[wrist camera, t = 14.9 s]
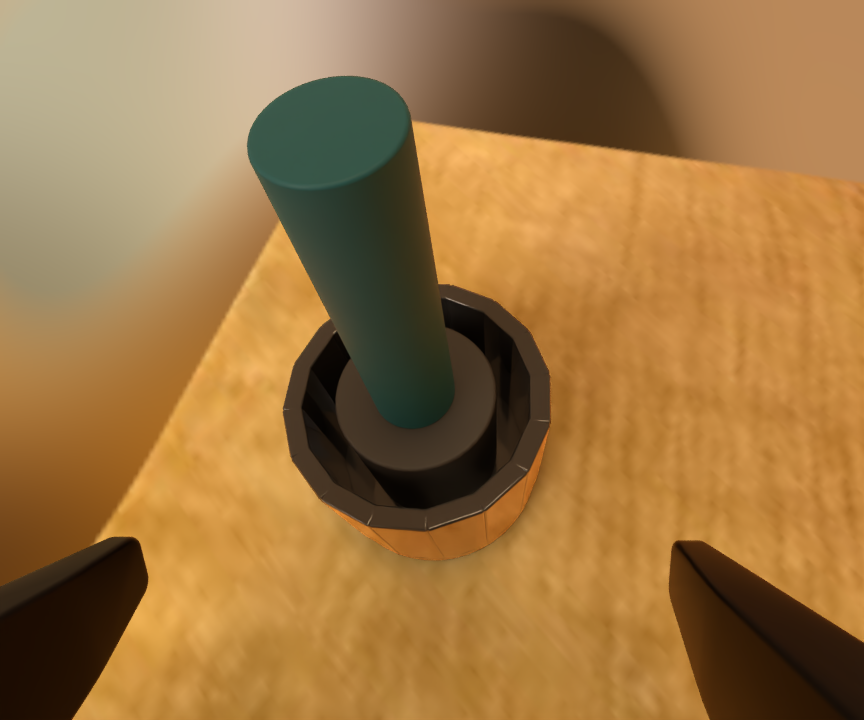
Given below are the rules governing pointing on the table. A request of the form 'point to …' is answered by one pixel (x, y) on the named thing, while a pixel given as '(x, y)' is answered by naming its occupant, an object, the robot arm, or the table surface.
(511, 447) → the tumbler
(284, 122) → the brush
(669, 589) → the robot arm
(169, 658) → the table surface
